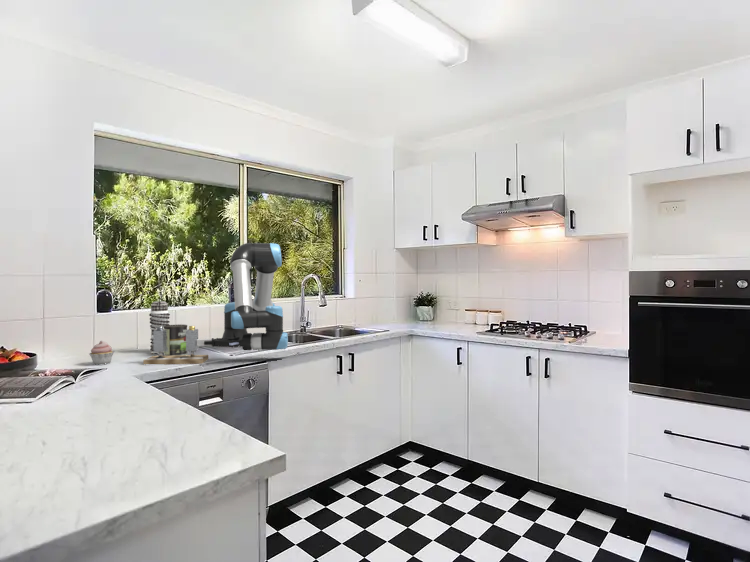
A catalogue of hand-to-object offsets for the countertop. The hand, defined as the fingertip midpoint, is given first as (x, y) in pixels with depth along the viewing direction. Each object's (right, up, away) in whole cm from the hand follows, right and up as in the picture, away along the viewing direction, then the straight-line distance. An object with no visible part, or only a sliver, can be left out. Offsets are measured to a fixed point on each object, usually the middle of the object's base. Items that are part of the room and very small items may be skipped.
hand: (197, 342), depth 195 cm
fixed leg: (-16, -6, -1) cm, 17 cm away
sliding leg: (-2, -6, 0) cm, 6 cm away
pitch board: (-9, -8, 0) cm, 12 cm away
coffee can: (-17, -8, +17) cm, 25 cm away
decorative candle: (-28, -8, +25) cm, 38 cm away
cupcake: (-40, -9, -3) cm, 41 cm away
